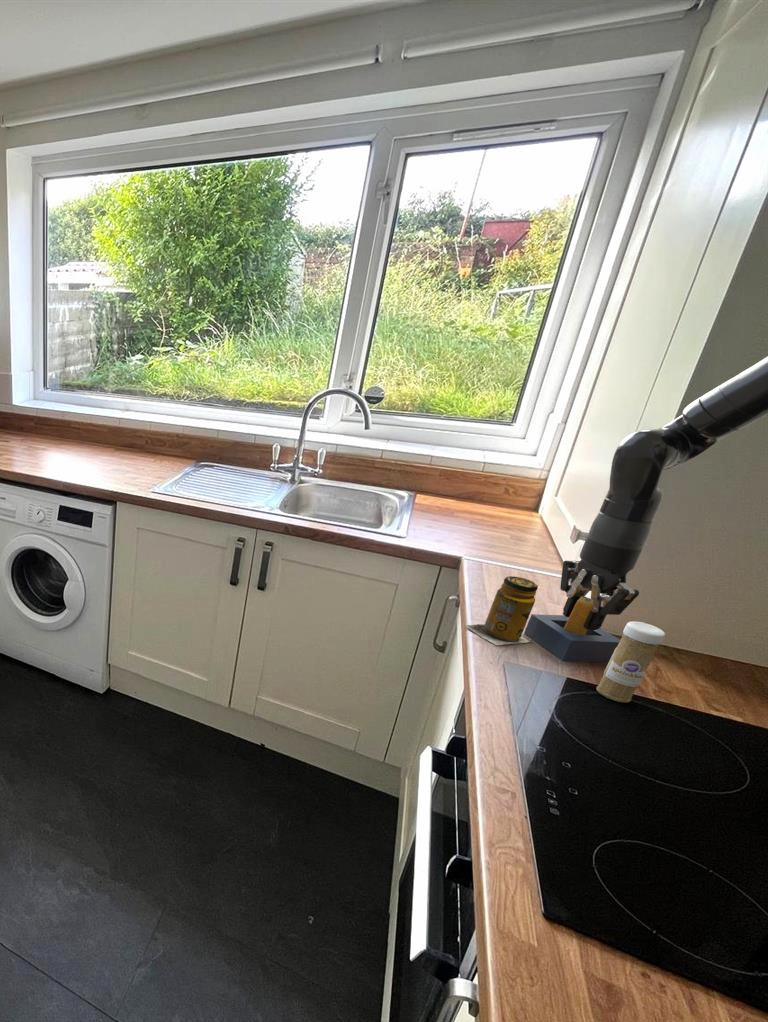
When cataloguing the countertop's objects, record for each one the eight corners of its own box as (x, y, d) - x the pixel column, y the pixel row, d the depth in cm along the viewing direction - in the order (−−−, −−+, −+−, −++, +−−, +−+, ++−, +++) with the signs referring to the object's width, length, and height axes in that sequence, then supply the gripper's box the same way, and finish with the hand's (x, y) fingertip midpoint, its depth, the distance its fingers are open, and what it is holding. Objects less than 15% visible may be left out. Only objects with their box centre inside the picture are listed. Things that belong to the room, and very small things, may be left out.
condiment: (530, 642, 114) (553, 588, 110) (495, 646, 113) (516, 591, 108) (497, 623, 121) (517, 571, 116) (463, 626, 119) (482, 574, 115)
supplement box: (578, 652, 111) (599, 606, 107) (555, 644, 113) (575, 599, 109) (581, 646, 113) (602, 601, 109) (559, 639, 115) (578, 594, 111)
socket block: (614, 663, 109) (624, 642, 107) (562, 661, 109) (571, 640, 107) (572, 635, 118) (580, 615, 116) (523, 633, 118) (531, 614, 116)
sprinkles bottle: (602, 699, 98) (636, 630, 93) (590, 684, 102) (622, 617, 97) (636, 706, 96) (672, 637, 91) (623, 691, 100) (657, 623, 95)
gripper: (675, 556, 98) (633, 643, 104) (601, 526, 111) (568, 605, 117) (630, 554, 98) (591, 641, 104) (562, 525, 111) (531, 604, 117)
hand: (579, 622), depth 111 cm, fingers closed on supplement box, 4 cm apart
